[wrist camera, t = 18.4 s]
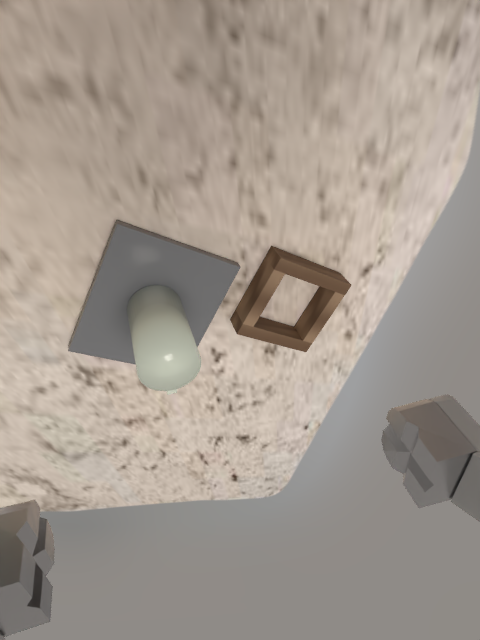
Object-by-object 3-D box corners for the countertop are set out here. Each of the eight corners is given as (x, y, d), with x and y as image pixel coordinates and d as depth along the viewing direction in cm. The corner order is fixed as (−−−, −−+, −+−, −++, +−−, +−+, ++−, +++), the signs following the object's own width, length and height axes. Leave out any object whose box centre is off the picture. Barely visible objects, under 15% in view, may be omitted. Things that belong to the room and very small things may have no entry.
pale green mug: (122, 290, 46) (132, 349, 38) (178, 280, 47) (198, 336, 40) (135, 351, 51) (145, 414, 44) (185, 341, 53) (204, 400, 45)
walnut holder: (271, 245, 49) (280, 257, 47) (340, 273, 54) (351, 284, 52) (230, 319, 54) (236, 333, 51) (297, 338, 59) (306, 352, 56)
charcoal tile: (116, 219, 43) (117, 223, 42) (237, 262, 50) (240, 267, 49) (68, 345, 49) (68, 351, 49) (181, 368, 56) (182, 373, 55)
